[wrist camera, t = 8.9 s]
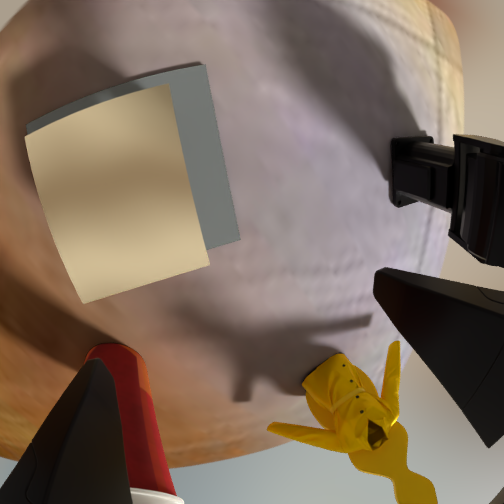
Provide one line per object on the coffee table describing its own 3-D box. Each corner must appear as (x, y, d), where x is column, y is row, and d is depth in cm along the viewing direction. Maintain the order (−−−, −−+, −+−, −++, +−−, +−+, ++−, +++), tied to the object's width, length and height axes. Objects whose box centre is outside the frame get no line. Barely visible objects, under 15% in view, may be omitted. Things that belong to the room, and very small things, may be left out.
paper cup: (59, 360, 18) (41, 507, 6) (109, 315, 18) (103, 499, 6) (123, 403, 22) (138, 532, 10) (177, 368, 22) (217, 517, 10)
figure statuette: (380, 315, 29) (512, 436, 10) (384, 350, 33) (486, 454, 14) (249, 400, 27) (340, 569, 8) (273, 423, 31) (350, 555, 12)
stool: (190, 220, 17) (210, 264, 12) (104, 247, 16) (83, 303, 10) (164, 106, 14) (169, 83, 8) (71, 136, 13) (24, 136, 7)
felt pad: (204, 66, 14) (205, 64, 14) (238, 237, 19) (240, 239, 19) (28, 125, 11) (25, 124, 11) (81, 287, 17) (80, 290, 16)
